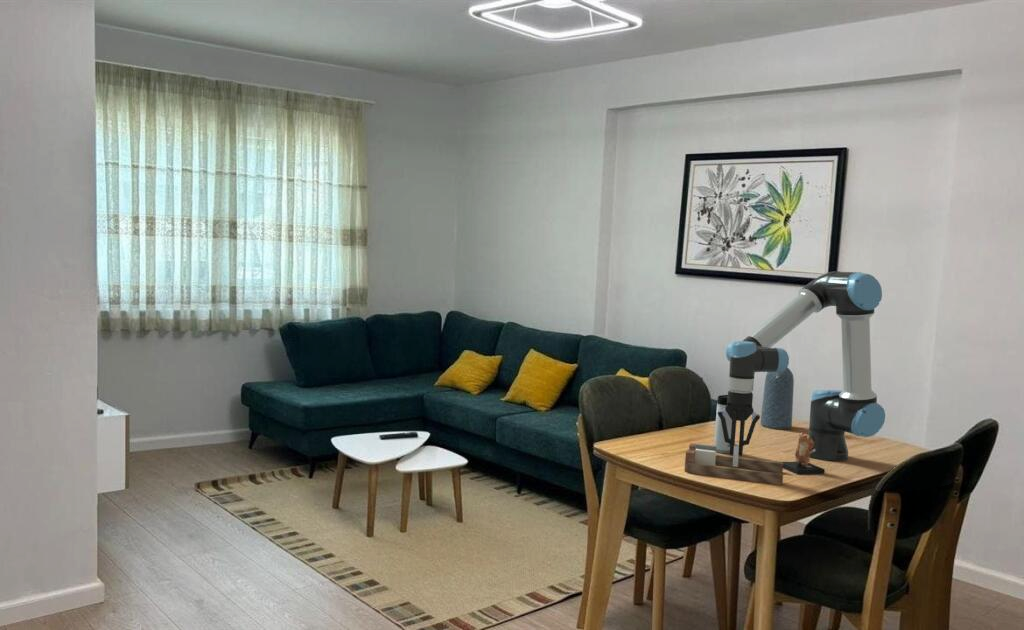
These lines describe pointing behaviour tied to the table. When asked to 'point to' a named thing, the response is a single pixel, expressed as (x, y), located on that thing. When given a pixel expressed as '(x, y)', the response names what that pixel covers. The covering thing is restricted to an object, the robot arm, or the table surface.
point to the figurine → (803, 458)
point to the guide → (735, 472)
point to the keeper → (705, 454)
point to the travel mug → (719, 436)
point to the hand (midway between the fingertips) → (735, 465)
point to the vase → (778, 400)
